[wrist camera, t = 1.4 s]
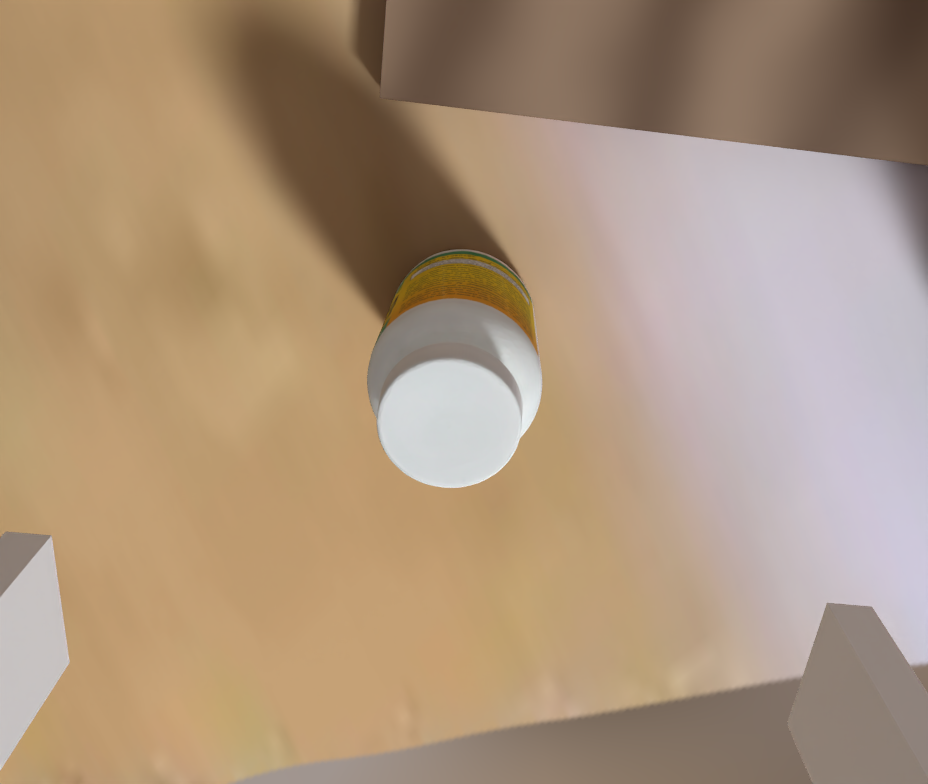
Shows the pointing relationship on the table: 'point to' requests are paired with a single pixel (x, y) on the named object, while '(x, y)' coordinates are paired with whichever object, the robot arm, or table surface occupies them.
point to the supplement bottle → (456, 369)
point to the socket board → (678, 67)
